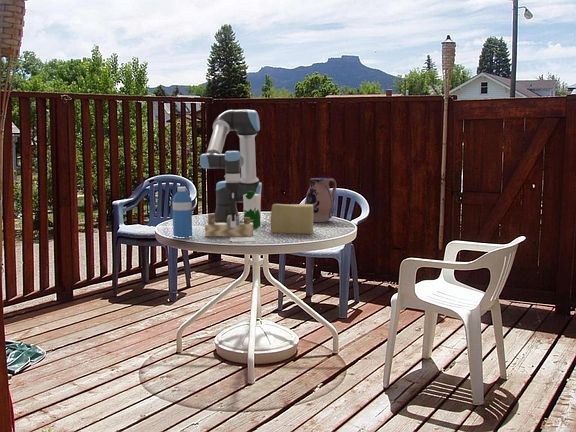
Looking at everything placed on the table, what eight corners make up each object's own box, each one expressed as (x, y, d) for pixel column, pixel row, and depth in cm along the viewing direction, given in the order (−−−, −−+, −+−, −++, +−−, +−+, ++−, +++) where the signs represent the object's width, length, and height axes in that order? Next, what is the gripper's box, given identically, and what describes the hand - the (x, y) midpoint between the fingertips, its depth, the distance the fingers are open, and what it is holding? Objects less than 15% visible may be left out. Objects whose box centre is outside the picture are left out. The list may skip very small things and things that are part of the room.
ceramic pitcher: (297, 221, 365) (298, 178, 361) (321, 217, 380) (321, 176, 377) (321, 224, 353) (321, 180, 350) (344, 220, 368) (344, 178, 365)
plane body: (205, 236, 314) (204, 215, 313) (205, 234, 320) (205, 213, 319) (253, 236, 317) (253, 214, 315) (252, 234, 322) (252, 212, 321)
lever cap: (227, 225, 313) (227, 216, 312) (227, 222, 322) (227, 214, 322) (239, 225, 313) (239, 216, 313) (239, 222, 323) (239, 213, 322)
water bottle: (174, 235, 318) (173, 186, 314) (192, 235, 319) (191, 186, 315) (172, 238, 309) (171, 188, 305) (191, 238, 309) (190, 188, 306)
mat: (230, 242, 299) (230, 241, 299) (230, 237, 311) (230, 237, 311) (255, 242, 301) (255, 241, 300) (254, 237, 312) (254, 236, 312)
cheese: (269, 234, 323) (269, 205, 321) (271, 230, 333) (271, 202, 331) (312, 234, 321) (312, 205, 319) (313, 231, 331) (313, 203, 329)
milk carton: (241, 227, 342) (241, 191, 339) (248, 225, 350) (247, 189, 348) (256, 228, 339) (256, 191, 336) (262, 226, 348) (262, 190, 345)
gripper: (225, 179, 326) (226, 222, 329) (224, 184, 303) (225, 229, 307) (240, 179, 326) (240, 222, 329) (240, 183, 304) (240, 229, 307)
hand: (233, 225), depth 318 cm, fingers closed on lever cap, 10 cm apart
